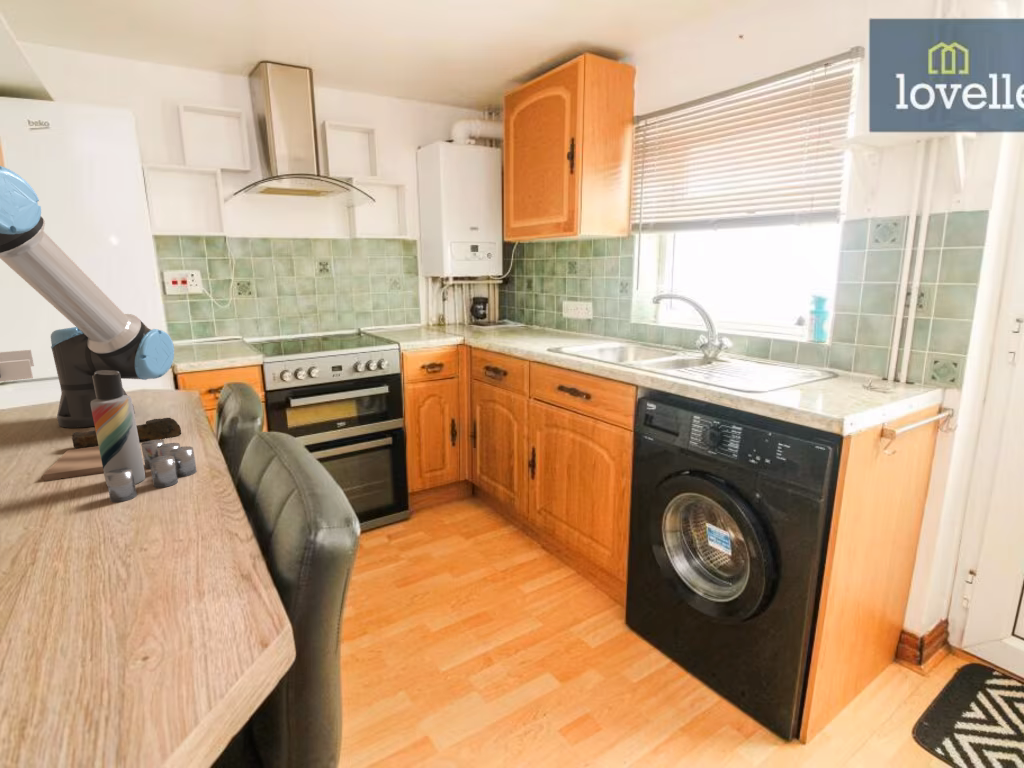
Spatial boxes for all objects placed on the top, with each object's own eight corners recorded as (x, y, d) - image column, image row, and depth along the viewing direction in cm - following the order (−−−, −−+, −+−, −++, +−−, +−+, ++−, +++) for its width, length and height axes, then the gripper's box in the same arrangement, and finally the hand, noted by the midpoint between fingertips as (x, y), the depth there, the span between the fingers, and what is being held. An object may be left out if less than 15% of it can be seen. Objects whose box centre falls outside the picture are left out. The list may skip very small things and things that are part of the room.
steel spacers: (131, 465, 103) (127, 443, 102) (201, 456, 107) (197, 434, 106) (107, 503, 87) (102, 477, 86) (190, 490, 91) (186, 465, 90)
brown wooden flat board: (68, 455, 109) (67, 450, 108) (134, 447, 113) (133, 441, 113) (44, 481, 96) (42, 474, 96) (118, 470, 101) (117, 464, 100)
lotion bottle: (119, 476, 98) (98, 367, 93) (152, 474, 98) (133, 367, 94) (98, 489, 92) (75, 374, 88) (133, 487, 93) (112, 373, 88)
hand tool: (72, 453, 111) (68, 432, 109) (78, 447, 114) (74, 426, 113) (179, 440, 118) (176, 420, 117) (182, 435, 122) (179, 415, 121)
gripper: (-149, 394, 81) (37, 375, 95) (-206, 430, 63) (35, 400, 76) (-163, 344, 80) (28, 332, 93) (-225, 366, 61) (25, 347, 75)
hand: (32, 362), depth 85 cm, fingers open, 13 cm apart
